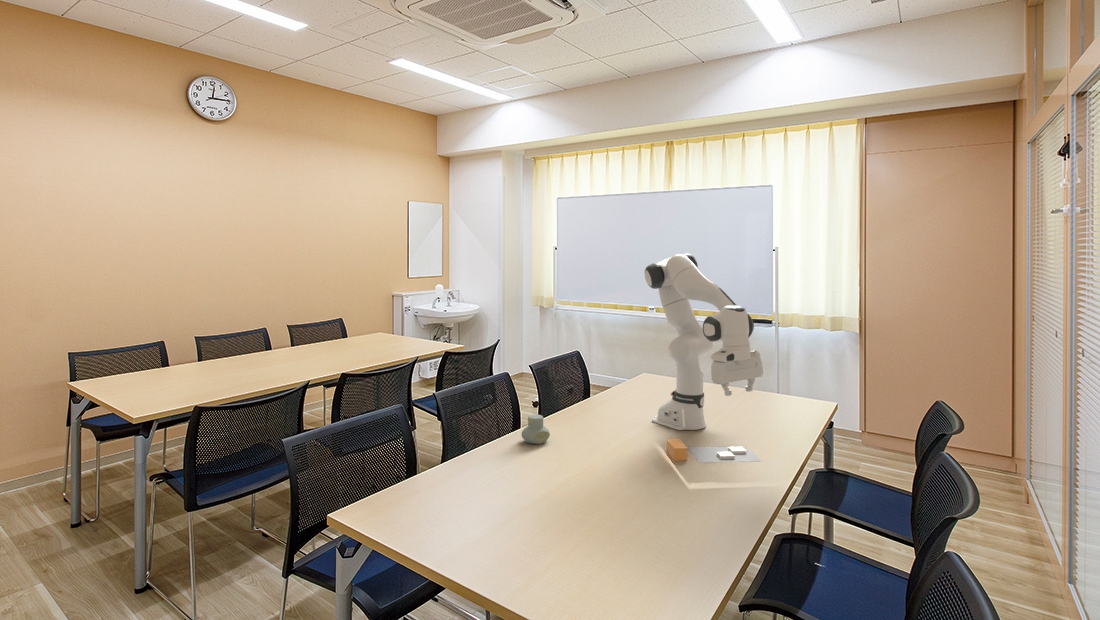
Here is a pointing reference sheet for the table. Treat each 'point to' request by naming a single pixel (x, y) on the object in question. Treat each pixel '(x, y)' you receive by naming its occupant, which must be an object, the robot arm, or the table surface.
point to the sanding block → (676, 449)
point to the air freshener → (535, 430)
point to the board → (711, 456)
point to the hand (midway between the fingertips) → (738, 393)
